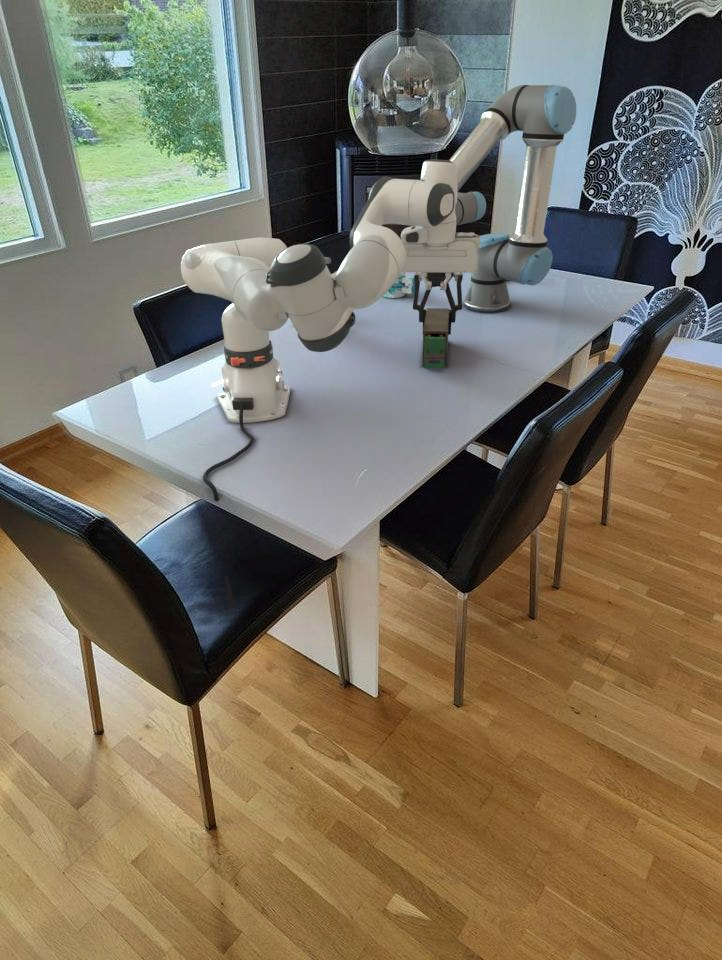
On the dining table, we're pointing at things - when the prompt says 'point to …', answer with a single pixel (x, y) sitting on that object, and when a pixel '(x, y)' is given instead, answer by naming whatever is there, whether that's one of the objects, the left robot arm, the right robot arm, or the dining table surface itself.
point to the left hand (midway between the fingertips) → (435, 289)
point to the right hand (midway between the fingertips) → (436, 332)
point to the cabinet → (436, 326)
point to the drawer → (434, 351)
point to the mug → (401, 287)
